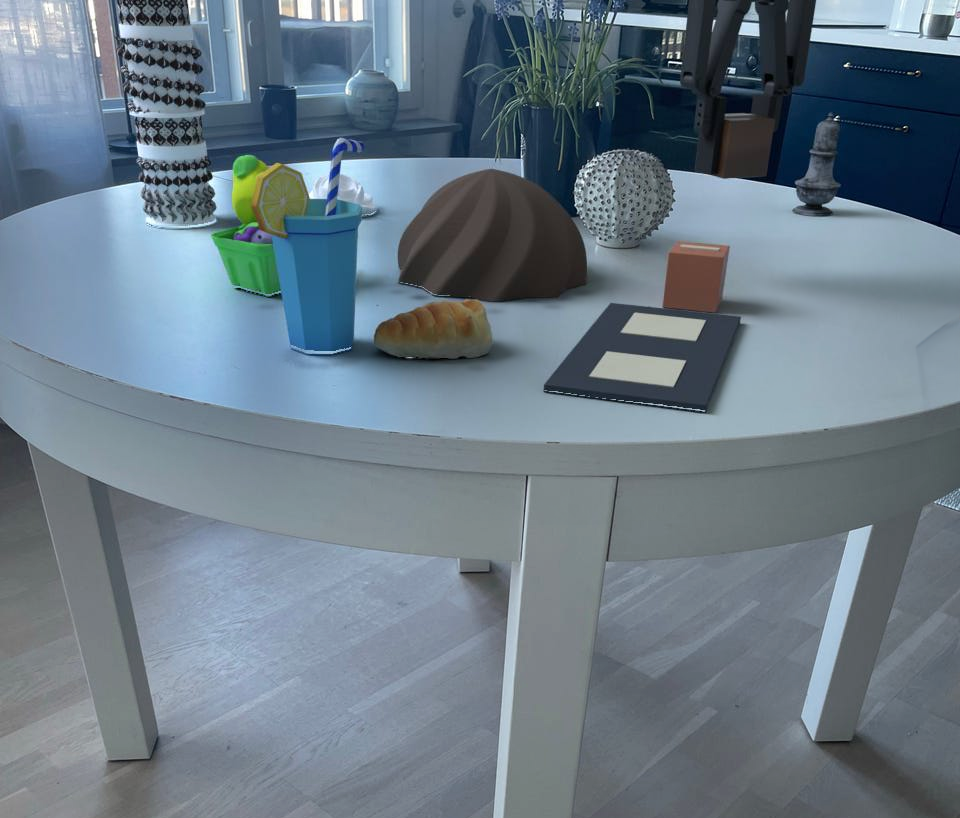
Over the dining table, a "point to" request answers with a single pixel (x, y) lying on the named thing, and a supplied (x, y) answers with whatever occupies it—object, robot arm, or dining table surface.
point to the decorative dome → (492, 241)
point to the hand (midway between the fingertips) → (730, 170)
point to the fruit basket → (248, 235)
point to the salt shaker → (819, 172)
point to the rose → (345, 193)
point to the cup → (312, 253)
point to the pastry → (437, 331)
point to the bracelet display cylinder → (166, 111)
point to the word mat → (648, 357)
